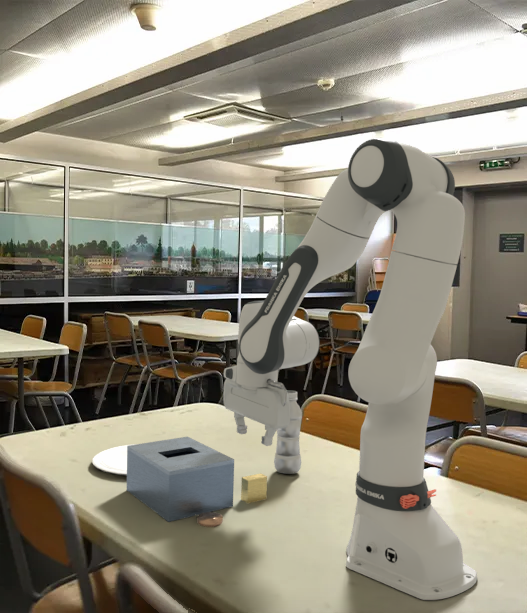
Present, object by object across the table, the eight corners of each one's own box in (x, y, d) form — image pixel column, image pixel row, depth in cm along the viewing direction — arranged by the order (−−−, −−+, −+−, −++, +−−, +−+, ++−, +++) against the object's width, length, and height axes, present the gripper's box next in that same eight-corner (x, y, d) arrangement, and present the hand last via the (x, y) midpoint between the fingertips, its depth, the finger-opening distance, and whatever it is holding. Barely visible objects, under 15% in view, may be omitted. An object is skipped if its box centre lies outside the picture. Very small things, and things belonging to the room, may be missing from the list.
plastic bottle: (299, 478, 148) (301, 395, 147) (271, 475, 149) (273, 393, 148) (302, 469, 154) (305, 390, 153) (276, 467, 156) (278, 388, 154)
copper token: (227, 524, 121) (227, 518, 121) (205, 530, 118) (205, 524, 118) (214, 516, 125) (214, 510, 125) (192, 521, 122) (192, 515, 122)
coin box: (233, 506, 129) (234, 459, 129) (168, 521, 121) (169, 471, 120) (186, 478, 146) (187, 436, 145) (126, 490, 137) (127, 445, 136)
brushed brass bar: (266, 499, 134) (267, 476, 134) (247, 503, 131) (248, 480, 131) (259, 495, 136) (260, 473, 136) (241, 500, 133) (241, 477, 133)
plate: (122, 489, 138) (123, 481, 138) (74, 461, 157) (74, 454, 156) (213, 468, 154) (213, 460, 154) (159, 445, 173) (159, 438, 173)
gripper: (299, 383, 126) (295, 450, 127) (243, 366, 142) (240, 425, 143) (274, 386, 122) (270, 454, 123) (219, 368, 139) (216, 429, 140)
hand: (253, 438), depth 133 cm, fingers open, 8 cm apart
